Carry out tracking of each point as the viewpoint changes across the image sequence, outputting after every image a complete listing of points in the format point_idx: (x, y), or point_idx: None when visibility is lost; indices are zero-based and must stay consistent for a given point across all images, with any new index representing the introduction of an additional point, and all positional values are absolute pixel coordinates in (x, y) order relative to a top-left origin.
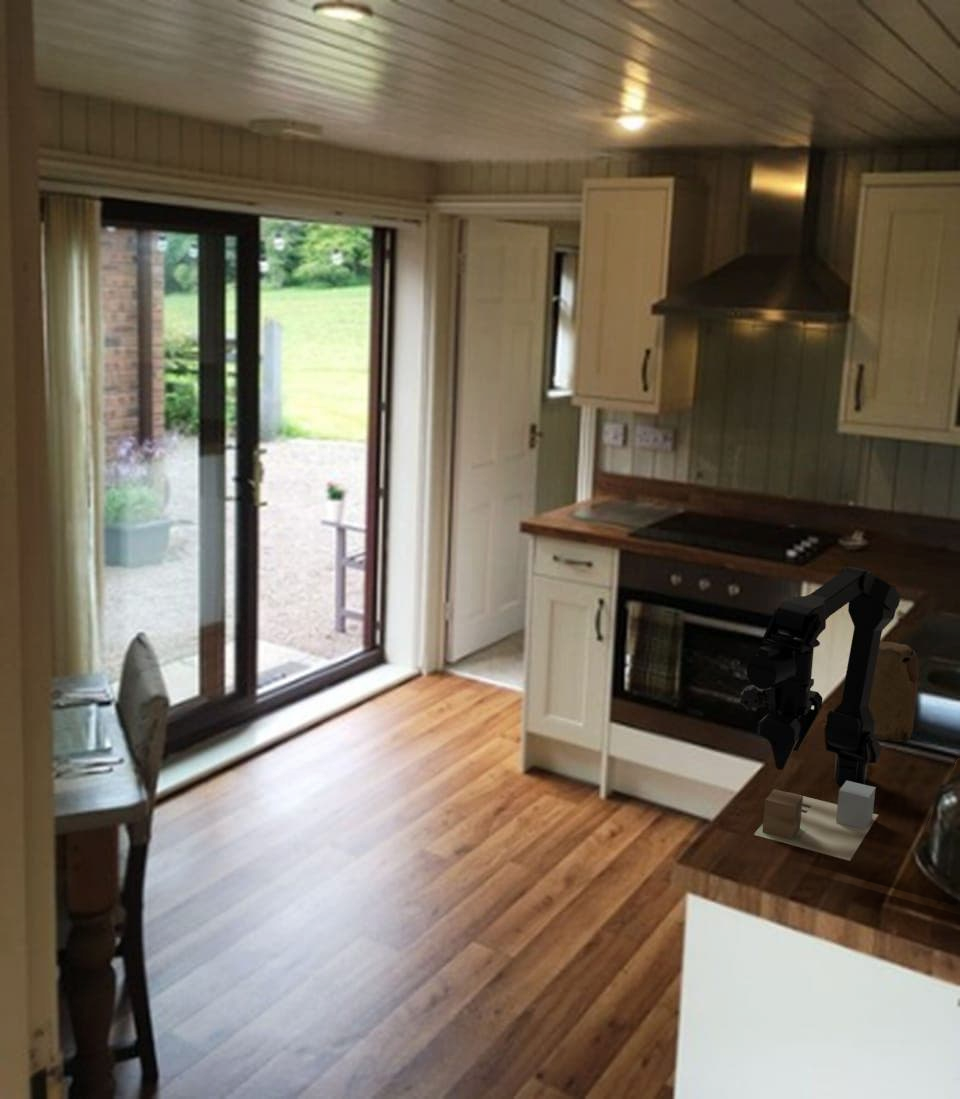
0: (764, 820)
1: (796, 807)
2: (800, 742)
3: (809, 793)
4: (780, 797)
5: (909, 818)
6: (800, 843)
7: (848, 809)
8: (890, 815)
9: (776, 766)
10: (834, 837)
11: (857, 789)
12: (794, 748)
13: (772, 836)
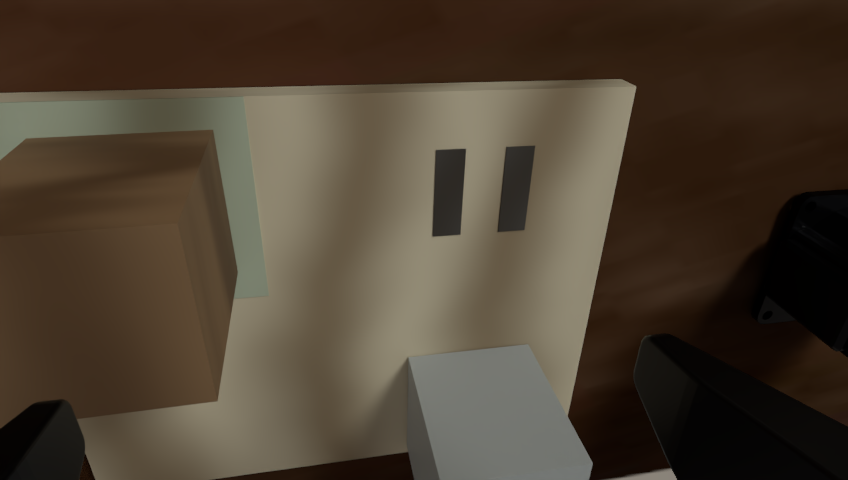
0: None
1: None
2: (684, 476)
3: (705, 149)
4: (63, 311)
5: (614, 465)
6: None
7: (422, 449)
8: (613, 425)
9: (8, 426)
10: (263, 397)
11: None
12: (646, 371)
13: None
